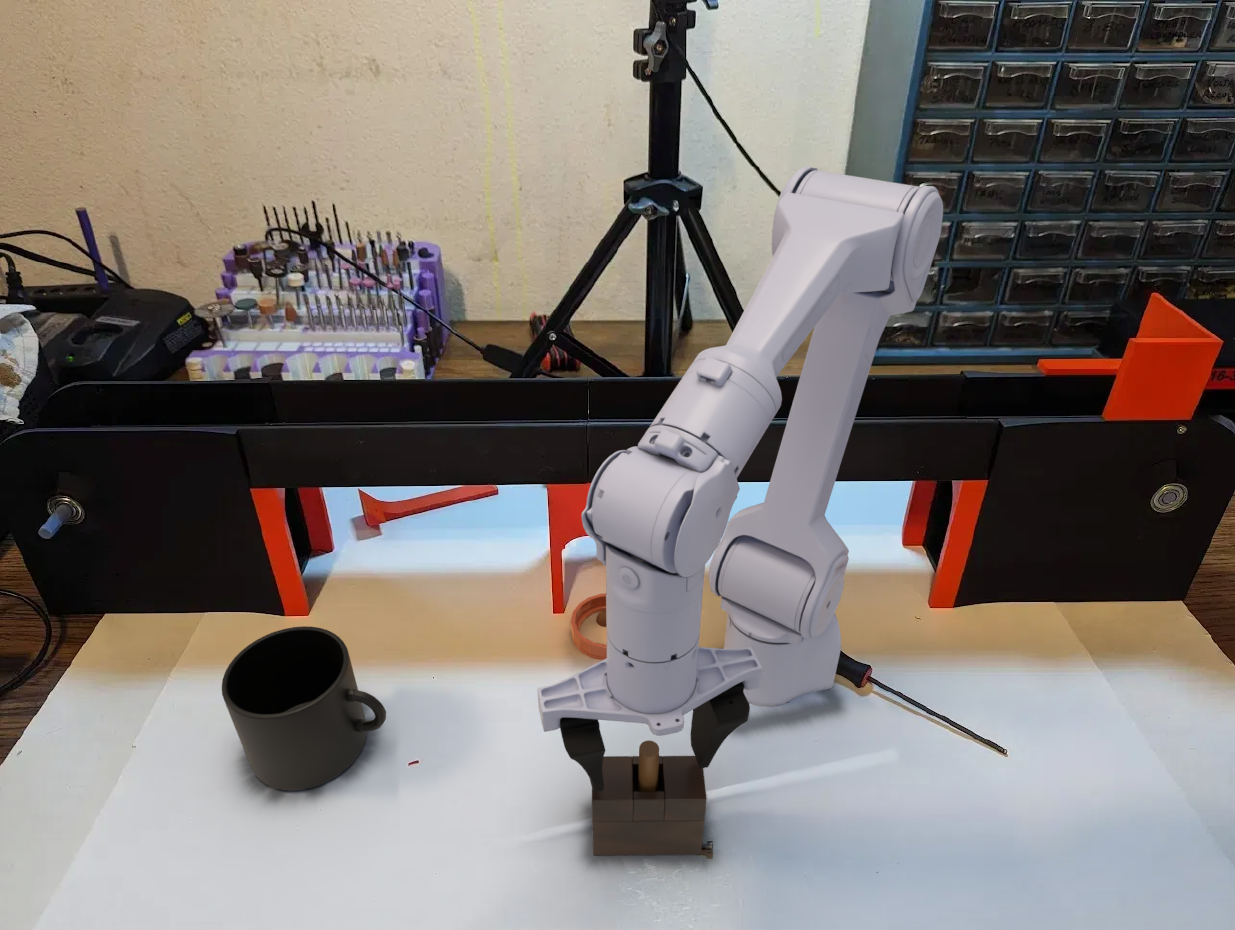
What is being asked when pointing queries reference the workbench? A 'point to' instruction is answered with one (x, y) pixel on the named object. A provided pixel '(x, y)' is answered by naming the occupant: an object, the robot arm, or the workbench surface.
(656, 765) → the stick
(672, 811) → the stand
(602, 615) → the ball
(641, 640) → the robot arm
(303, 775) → the mug
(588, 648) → the ring
